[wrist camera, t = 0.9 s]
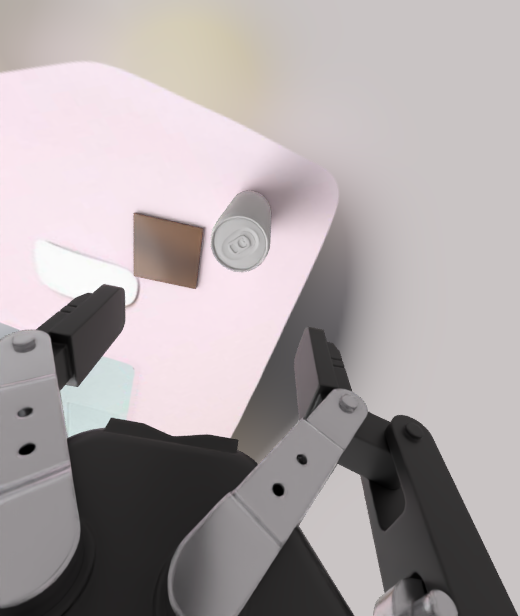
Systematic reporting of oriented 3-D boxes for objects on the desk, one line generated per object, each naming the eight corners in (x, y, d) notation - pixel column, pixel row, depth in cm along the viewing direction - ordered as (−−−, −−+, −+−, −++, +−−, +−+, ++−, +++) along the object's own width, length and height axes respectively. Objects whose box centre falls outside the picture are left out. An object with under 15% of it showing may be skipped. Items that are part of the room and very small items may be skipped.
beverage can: (279, 218, 33) (281, 254, 23) (244, 240, 35) (232, 283, 24) (255, 180, 31) (247, 200, 21) (220, 205, 33) (196, 236, 22)
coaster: (134, 212, 34) (133, 213, 33) (203, 228, 34) (202, 229, 34) (134, 274, 38) (133, 276, 37) (196, 287, 38) (195, 289, 38)
